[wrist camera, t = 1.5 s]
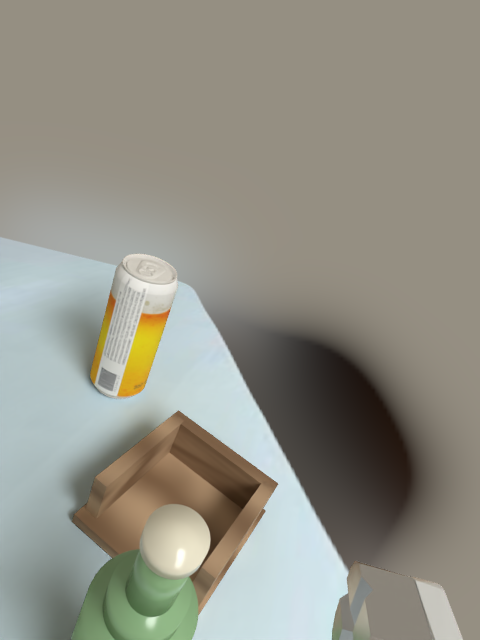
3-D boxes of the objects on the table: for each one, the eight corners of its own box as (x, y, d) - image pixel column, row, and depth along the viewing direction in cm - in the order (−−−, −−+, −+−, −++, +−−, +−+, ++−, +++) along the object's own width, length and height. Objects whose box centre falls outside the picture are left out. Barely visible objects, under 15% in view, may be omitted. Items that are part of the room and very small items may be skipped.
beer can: (151, 377, 53) (188, 268, 46) (132, 410, 48) (170, 292, 40) (103, 358, 53) (133, 245, 46) (78, 388, 47) (107, 266, 40)
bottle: (32, 687, 27) (87, 507, 18) (115, 634, 30) (194, 463, 22) (69, 792, 24) (155, 636, 15) (155, 719, 27) (264, 560, 19)
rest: (190, 627, 32) (212, 592, 30) (71, 521, 36) (83, 481, 33) (261, 517, 42) (282, 483, 40) (164, 442, 46) (177, 407, 43)
